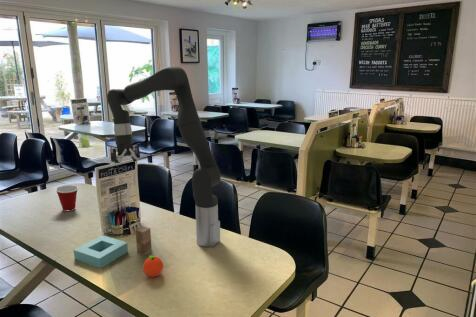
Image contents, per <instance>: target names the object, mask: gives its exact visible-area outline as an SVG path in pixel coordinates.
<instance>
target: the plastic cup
mask: <svg viewBox="0 0 476 317" xmlns="http://www.w3.org/2000/svg"><path fill="white" fill-rule="evenodd" d="M78 190H79V187H78V186H77V185H71V184H69V185H67V184H65V185H61V186H58V187H56V188H55V191H56V193H57V196H58V200H59V203H60V205H61V208H62V210H72V209H74V208H75V209H76V202H77V193H78ZM75 209H74V210H75ZM72 211H73V210H72Z"/></svg>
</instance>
